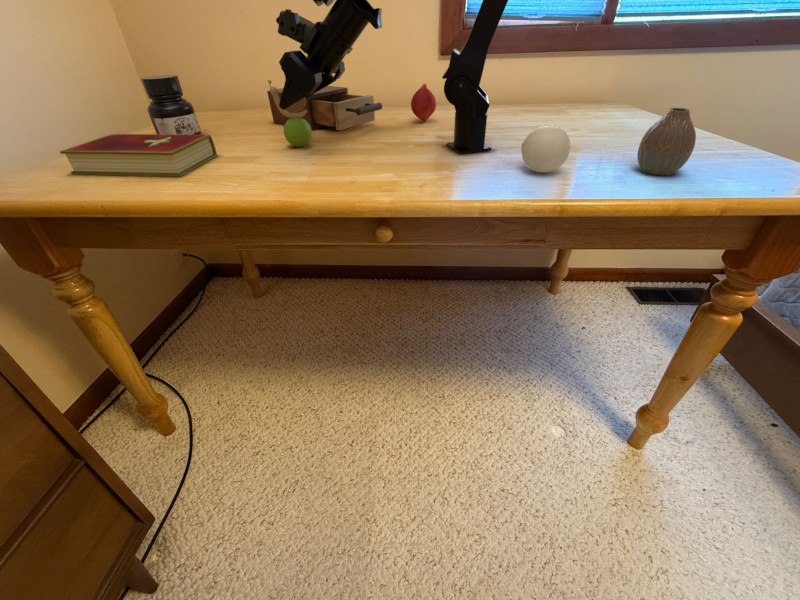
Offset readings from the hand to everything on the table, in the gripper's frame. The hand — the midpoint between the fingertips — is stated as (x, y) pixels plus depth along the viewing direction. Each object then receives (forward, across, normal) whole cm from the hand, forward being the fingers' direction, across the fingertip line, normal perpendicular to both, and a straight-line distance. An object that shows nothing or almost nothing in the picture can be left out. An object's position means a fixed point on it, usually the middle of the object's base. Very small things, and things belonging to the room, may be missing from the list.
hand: (291, 103), depth 72 cm
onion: (-11, -22, +22) cm, 33 cm away
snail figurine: (+6, 0, +6) cm, 8 cm away
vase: (-39, +12, +50) cm, 64 cm away
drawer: (+1, -17, +8) cm, 19 cm away
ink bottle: (+27, -6, -15) cm, 32 cm away
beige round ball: (-27, +12, +38) cm, 48 cm away
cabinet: (+9, -22, +2) cm, 24 cm away
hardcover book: (+23, +13, -11) cm, 29 cm away
